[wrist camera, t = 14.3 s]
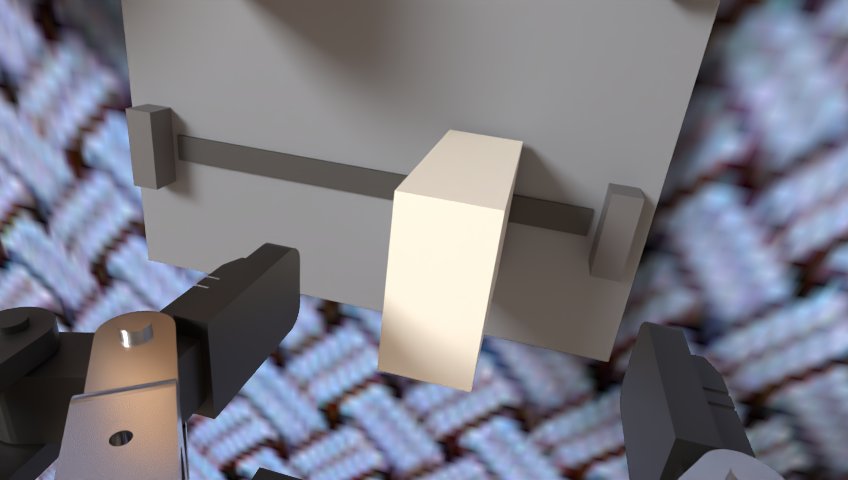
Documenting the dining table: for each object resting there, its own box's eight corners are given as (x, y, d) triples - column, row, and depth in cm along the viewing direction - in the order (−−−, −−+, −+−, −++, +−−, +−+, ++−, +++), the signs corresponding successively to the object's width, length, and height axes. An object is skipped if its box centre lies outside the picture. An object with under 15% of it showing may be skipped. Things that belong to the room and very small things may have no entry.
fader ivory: (523, 141, 18) (504, 211, 12) (498, 273, 20) (470, 392, 14) (449, 129, 19) (394, 190, 12) (432, 260, 21) (377, 369, 14)
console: (789, -286, 15) (846, -358, 12) (604, 334, 23) (611, 381, 20) (132, -310, 18) (49, -373, 15) (177, 242, 26) (129, 271, 23)
